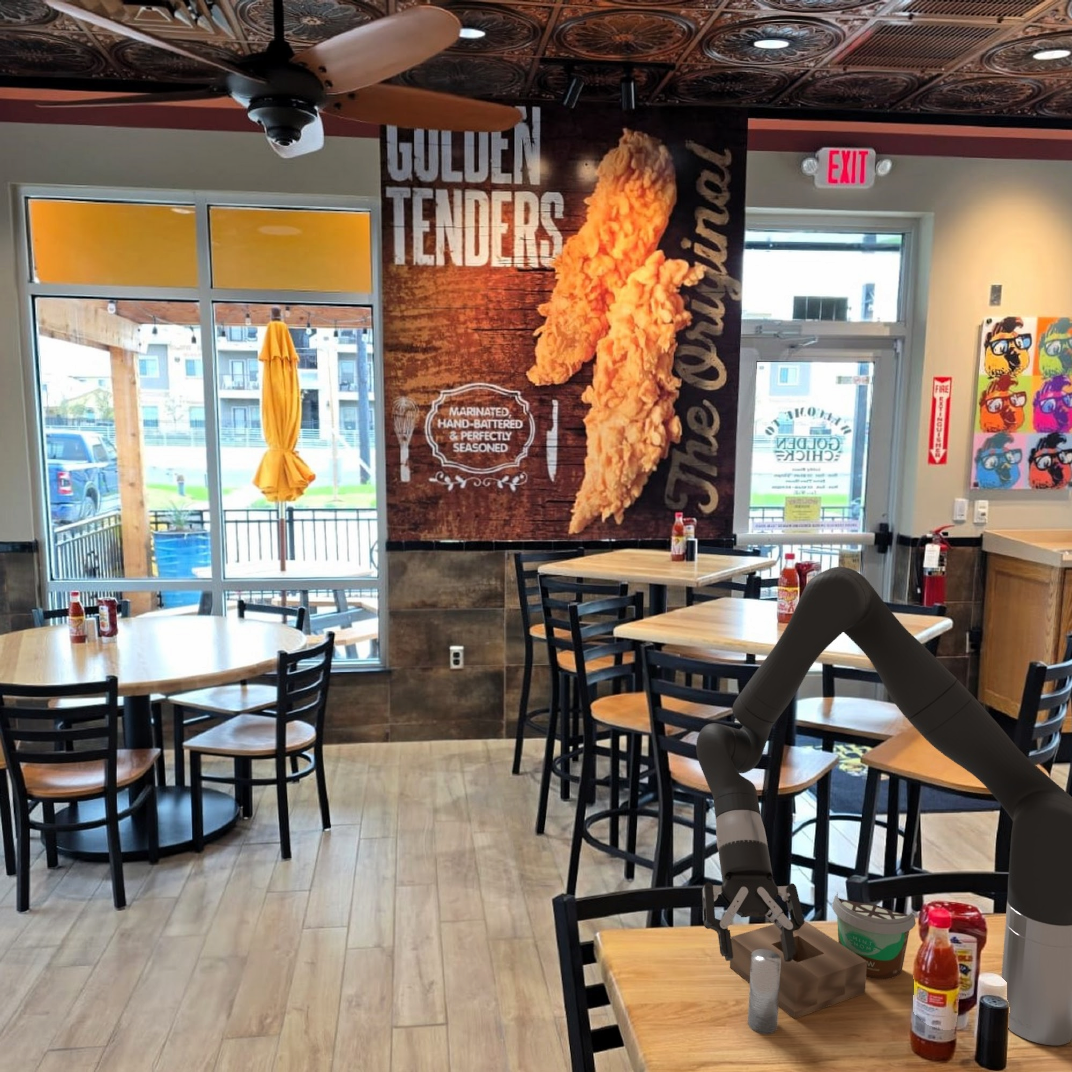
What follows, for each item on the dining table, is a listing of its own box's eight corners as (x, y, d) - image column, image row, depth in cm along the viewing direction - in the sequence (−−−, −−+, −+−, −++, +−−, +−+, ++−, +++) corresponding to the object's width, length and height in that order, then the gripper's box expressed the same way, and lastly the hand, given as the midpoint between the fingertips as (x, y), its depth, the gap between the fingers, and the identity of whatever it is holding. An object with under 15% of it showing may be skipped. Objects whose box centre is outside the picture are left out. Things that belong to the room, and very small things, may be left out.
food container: (823, 969, 139) (826, 908, 138) (830, 950, 144) (833, 891, 143) (908, 993, 133) (912, 929, 132) (912, 972, 139) (916, 910, 138)
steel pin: (763, 1012, 128) (767, 946, 127) (783, 1029, 124) (787, 961, 123) (741, 1020, 126) (745, 953, 125) (761, 1037, 122) (764, 968, 121)
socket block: (797, 946, 145) (798, 916, 145) (865, 993, 133) (866, 961, 132) (729, 967, 139) (731, 936, 138) (794, 1018, 126) (796, 985, 126)
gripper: (700, 837, 134) (714, 952, 124) (794, 838, 135) (816, 953, 124) (692, 855, 140) (704, 966, 130) (782, 856, 140) (802, 967, 130)
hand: (759, 959), depth 127 cm, fingers open, 8 cm apart
